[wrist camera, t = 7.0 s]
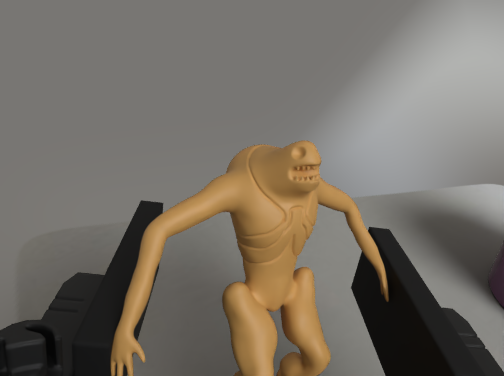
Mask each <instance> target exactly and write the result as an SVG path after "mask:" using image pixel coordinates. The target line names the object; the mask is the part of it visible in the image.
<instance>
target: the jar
mask: <svg viewBox="0 0 504 376" xmlns="http://www.w3.org/2000/svg"><path fill="white" fill-rule="evenodd" d="M488 282H489V287H490V289H491V291H492V293H493V295H494V296H495V298H496V299H497V301H498V302H499V303H500V304H501V305H502V306H503V308H504V241H503V243H502V245H501V248H500V250H499V252H498V254H497V256H496V259H495V261H494V263H493V265H492V267H491V270H490V272H489V275H488Z"/></svg>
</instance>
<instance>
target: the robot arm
mask: <svg viewBox="0 0 504 376" xmlns="http://www.w3.org/2000/svg"><path fill="white" fill-rule="evenodd" d="M162 213H163V203H158V202H150V201H141V202H140V204H139V206H138V208H137V210H136V212H135V214H134V216H133V218H132V220H131V222H130V224H129V226H128V228H127V230H126V232H125V234H124V237H123V239H122V241H121V243H120V245H119V247H118V249H117V251H116V253H115V255H114V257H113V259H112V261H111V263H110V265H109V267H108V269H107V271H106V274H105V275H99V274H89V273H79V272H78V273H77V274H75V275H74V276H73V277H71V278H70V279H69V280H67V281H66V282H64V283H63V285H62V287H61V288H60V290H59V291H58V293H57V295H56V296H55V299H53V301H52V303H51V304H50V306H49V309H48V310H47V311H46V312H45V314H44V316H43V317H42V319H41V320H26V321H22V322H18V323H15V324H12V325H10V326H8V327H6V328H4V329H2V330H0V376H112V375H111V351H112V345H113V340H114V335H115V332H116V329H117V326H118V324H119V321H120V319H121V315H122V312H123V307H124V302H125V297H126V294H127V291H128V289H129V286H130V283H131V280H132V277H133V274H134V271H135V268H136V265H137V262H138V257H139V252H140V246H141V241H142V237H143V234H144V232H145V230H146V228H147V227H148V225H149V224H150V223H151V222H152V221H153V220H154V219H156V218H157V217H158V216H159V215H161V214H162ZM368 232H369V234H370V236H371V237H372V239H373V240H374V242H375V244H376V246H377V248H378V251H379V254H380V257H381V259H382V262H383V264H384V268H385V272H386V278H387V284H388V296H389V301H388V302H387V301H386V300H385V296H384V292H383V295H382V294H381V285H380V279H379V277H378V273H377V271H376V269H375V268H374V266H373V265H372V263H371V262H370V261H369V260H368V259H367V257H366V256H365V255H364V253H363V252H362V253H361V256H360V260H359V263H358V266H357V270H356V273H355V276H354V280H353V283H352V286H351V289H352V291H353V294H354V296H355V299H356V301H357V304H358V307H359V309H360V312H361V314H362V317H363V319H364V322H365V324H366V327H367V330H368V332H369V335H370V337H371V340H372V342H373V345H374V347H375V350H376V352H377V355H378V358H379V360H380V363H381V365H382V368H383V370H384V373H385V375H386V376H504V372H503V371H502V369H501V368H500V366H499V365H498V364H497V362H496V361H495V359H494V358H493V357H492V355H491V354H490V352H489V351H488V350H487V349H485V345H484V344H483V343H482V341H481V340H480V338H477V334H476V333H475V331H474V330H473V329H472V327H471V326H470V324H469V323H468V322H467V321H466V320H465V319H464V318H463V317H462V316H460V315H459V314H458V313H457V312H456V311H454V310H453V309H450V308H441V307H440V305H439V304H438V302H437V301H436V299H435V298H434V296H433V295H432V293H431V292H430V290H429V289H428V287H427V286H426V284H425V283H424V281H423V280H422V278H421V277H420V275H419V274H418V272H417V271H416V269H415V267H414V266H413V264H412V263H411V261H410V260H409V258H408V257H407V255H406V254H405V252H404V251H403V249H402V248H401V246H400V245H399V243H398V242H397V240H396V239H395V237H394V236H393V234H392V233H391V231H390V230H389V229H382V228H374V227H369V229H368ZM158 269H159V264H158V266H157V269H156V272H155V276H154V281H153V285H152V289H153V286H154V283H155V279H156V276H157V272H158ZM152 289H151V293H152ZM151 293H150V296H151ZM150 296H149V299H150ZM149 299H148V302H147V304H146V307H145V309H144V311H143V313H142V315H141V317H140V319H139V321H138V323H137V325H136V326H135V328H134V338H135V339H136V340H138V336H139V333H140V330H141V326H142V323H143V320H144V316H145V313H146V309H147V306H148V303H149ZM132 357H133V354H132ZM115 376H117V363H116V367H115ZM123 376H127V368H126V366H125V364H124V366H123Z"/></svg>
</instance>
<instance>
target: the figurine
mask: <svg viewBox="0 0 504 376" xmlns="http://www.w3.org/2000/svg"><path fill="white" fill-rule="evenodd" d="M320 164H321V157H320V155H319V153H318V151H317V149H316V146H315V145H314V144H313V143H312V142H310V141H298V142H295V143H292V144H290V145H288V146H286V147H284V148H279V147H274V146H270V145H254V146H250V147H247V148H245V149H243V150H242V151H240V152H239V153H238V154H237V155H236V156H235V157H234V158H233V159H232V161H231V162H230V164H229V166H228V168H227V171H226V174H224V175H221V176H219V177H217V178H215V179H214V180H212V181H211V182H210V183H209V184H208V185H207V186H206V187H205V188H204V189H202V190H201V191H200V192H199V193H197V194H195V195H194V196H192V197H190V198H188V199H186V200H184V201H182V202H180V203H178V204H177V205H175V206H173V207H172V208H170V209H169V210H167V211H166V212H164V213H162V214H161V215H159V216H158V217H157V218H156V219H154V220H153V221H152V222H151V223H150V224H149V225H148V227H147V228H146V230H145V232H144V234H143V237H142V241H141V246H140V252H139V257H138V262H137V265H136V268H135V271H134V274H133V277H132V280H131V283H130V286H129V289H128V291H127V294H126V297H125V302H124V307H123V312H122V315H121V319H120V321H119V324H118V326H117V329H116V332H115V335H114V340H113V345H112V351H111V375H112V376H115V367H116V363H117V376H123V366H124V364H125V366H126V368H127V373H128V376H134V375H133V359H132V354H133V353H134V352H135V353H137V354H138V356H139V357H140V359H141V361H142V362H145V355H144V352H143V350H142V348H141V346H140V344H139V343H138V342H137V340H136V339H135V338H134V328H135V326H136V325H137V323H138V321H139V319H140V317H141V315H142V313H143V311H144V309H145V307H146V304H147V302H148V299H149V296H150V293H151V289H152V285H153V281H154V276H155V272H156V269H157V266H158V264H159V262H160V259H161V256H162V253H163V248H164V245H165V241H166V239H167V238H168V237H170V236H173V235H175V234H177V233H180V232H182V231H184V230H187V229H189V228H191V227H193V226H195V225H197V224H199V223H201V222H203V221H205V220H207V219H209V218H210V217H212V216H214V215H216V214H218V213H221V212H230V214H231V218H232V222H233V225H234V229H235V233H236V238H237V243H238V247H239V250H240V252H241V255H242V257H243V266H244V271H245V276H246V280H245V283H242V282H234V283H232V284H230V285H228V286H227V287H226V289H225V290H224V292H223V297H222V303H223V309H224V312H225V314H226V317H227V319H228V322H229V327H230V334H231V343H232V349H233V354H234V357H235V360H236V363H237V365H238V367H239V369H240V371H238V372H236V373H235V374H234V376H274V366H273V358H274V354H275V350H276V347H277V330H276V326H275V324H274V321H273V319H272V317H271V316H270V314H269V313H268V311H272V312H273V311H277V310H278V309H279V308H280V311H281V320H282V328H283V331H284V334H285V336H286V337H287V339H288V340H289V341H290V342H292V343H293V344H294V345H296V346H297V347H298V348H299V350H300V352H301V354H299V353H297V352H291V353H288V354H287V355H285V356H284V357H283V358H282V360H281V362H280V369H279V370H278V372H277V376H317V375H319V374H320V373H322V372H323V371H324V369H325V368H326V367H327V366H328V364H329V362H330V358H331V355H330V351H329V348H328V347H327V345H326V343H325V340H324V337H323V332H322V328H321V325H320V321H319V317H318V312H317V309H316V306H315V288H314V275H313V272H312V271H311V269H309V268H308V267H301V268H299V269H297V270H295V271H294V268H295V264H296V261H297V255H299V254H300V253H301V251H302V249H303V246H304V244H305V242H306V240H307V239H308V238H309V236H310V235H311V233H312V231H313V226H314V225H315V223H316V216H317V209H318V204H320V205H323V206H326V207H328V208H331V209H334V210H337V211H341V212H344V214H345V216H346V220H347V223H348V226H349V227H350V229H351V231H352V232H353V234H354V237H355V239H356V241H357V243H358V245H359V247H360V248H361V250H362V252H363V253H364V255H365V256H366V257H367V259H368V260H369V261H370V262H371V263H372V265H373V266H374V268H375V269H376V271H377V273H378V277H379V279H380V285H381V294H382V295H383V292H384V296H385V300H386V301H387V302H388V301H389V296H388V284H387V278H386V272H385V268H384V264H383V262H382V259H381V257H380V254H379V251H378V248H377V246H376V244H375V242H374V240H373V239H372V237H371V236H370V234H369V232H368V231H367V229H366V228H365V226H364V224H363V221H362V218H361V215H360V212H359V209H358V207H357V205H356V204H355V202H354V201H353V200H352V199H351V198H350V197H349V196H348V195H347V194H346V193H344V192H343V191H341V190H339V189H338V188H336V187H334V186H332V185H330V184H328V183H326V182H325V181H324V180H323V179H322V178H320V174H319V166H320ZM267 310H268V311H267Z"/></svg>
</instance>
